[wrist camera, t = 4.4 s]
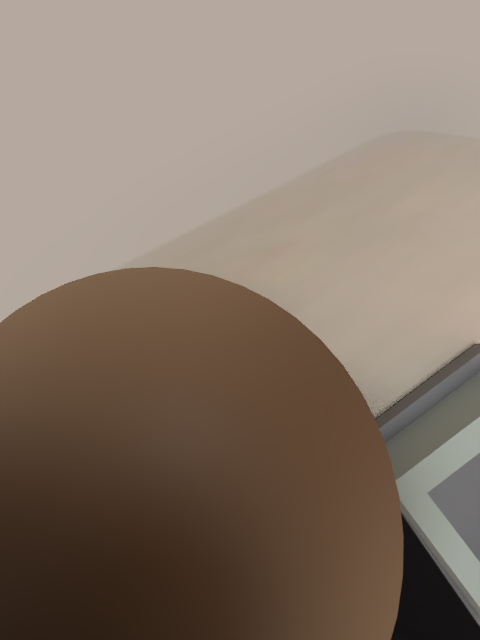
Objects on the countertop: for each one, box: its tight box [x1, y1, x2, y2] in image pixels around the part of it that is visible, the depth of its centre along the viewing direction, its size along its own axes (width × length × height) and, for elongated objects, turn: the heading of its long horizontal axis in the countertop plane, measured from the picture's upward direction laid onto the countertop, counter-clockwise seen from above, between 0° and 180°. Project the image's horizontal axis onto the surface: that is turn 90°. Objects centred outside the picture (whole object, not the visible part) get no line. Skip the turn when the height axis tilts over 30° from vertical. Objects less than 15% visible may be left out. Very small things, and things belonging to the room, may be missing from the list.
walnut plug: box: [0, 267, 404, 640], centre depth 9 cm, size 5×5×13 cm
